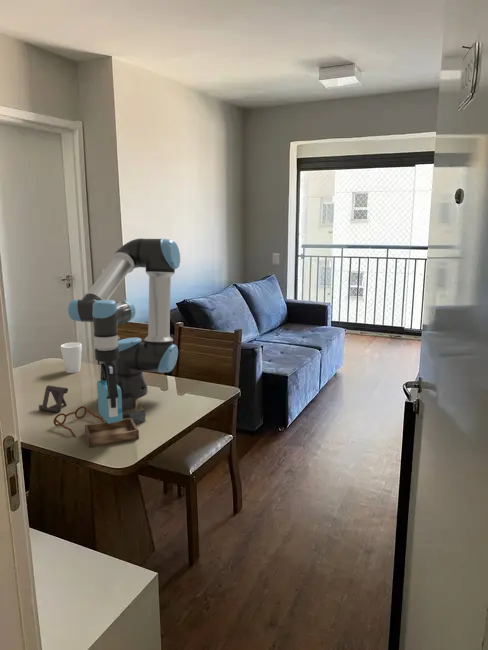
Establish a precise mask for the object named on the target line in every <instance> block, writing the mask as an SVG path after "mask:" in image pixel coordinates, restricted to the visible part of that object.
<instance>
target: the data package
mask: <svg viewBox="0 0 488 650" xmlns="http://www.w3.org/2000/svg"><path fill="white" fill-rule="evenodd" d="M96 386H97V387H96V388H97V405H98V407H97V408H98V412H99V415H100V416H101V418H102V419H103V420H104V421H105V422H107V423H108V424H110V423H115V422H120V421H122V413H123V409H122V396H121V389H120V387H119V386H118V385H117V391H118V398H117V407H118V416H115V417H109V406H108V399H107V396H109V395H108V388H107V382H106V380H102V381H101V380H98V381H97V385H96Z"/></svg>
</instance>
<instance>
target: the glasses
mask: <svg viewBox="0 0 488 650" xmlns="http://www.w3.org/2000/svg"><path fill="white" fill-rule="evenodd" d="M81 409H84V413H83V414H82V415H80V416H78V414H77V413H78V411H80V410H81ZM87 413H89V414H90V415H92V416H93V417H95V418H96V419H99V420H100V421H101V422H105V420H104V418H103V417H100V416H99V415H96V414H95V413H93V412H92V411H91V410H89V409H88V408H87V406H84V405H83V406H82V405H81V406H79V407H78V408H77V409H75V411H71V412H69V413H63V412H62V413H61V412H60V413H58V414H57V415H56V416H55V417H54V418H53V424H54V426H56V427H59V426H61V427H62V428H63V429H66V430H68V431H69V432H70V433H71V435H72V436H73V437H76V435H75V433H74V431H73V430H72V429H71V428H70V427H68V426H65V425H64V424H65V422H66V420H67V417H68V416H71V415H75V416H74V417H75V418H76V419H77V420H78V419H81V418H83V417H85V416H86V414H87ZM60 416H63V421H62V422H60V421H59V420H58V418H59V417H60Z"/></svg>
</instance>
